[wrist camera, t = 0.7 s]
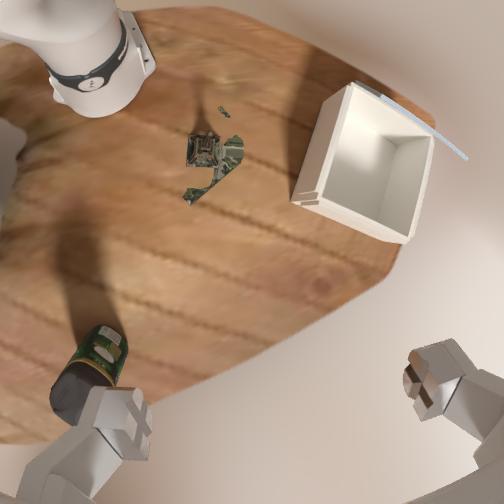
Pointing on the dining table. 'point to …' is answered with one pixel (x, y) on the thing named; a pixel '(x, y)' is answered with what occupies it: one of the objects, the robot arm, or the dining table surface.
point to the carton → (366, 166)
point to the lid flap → (411, 117)
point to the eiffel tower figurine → (212, 157)
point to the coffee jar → (88, 372)
